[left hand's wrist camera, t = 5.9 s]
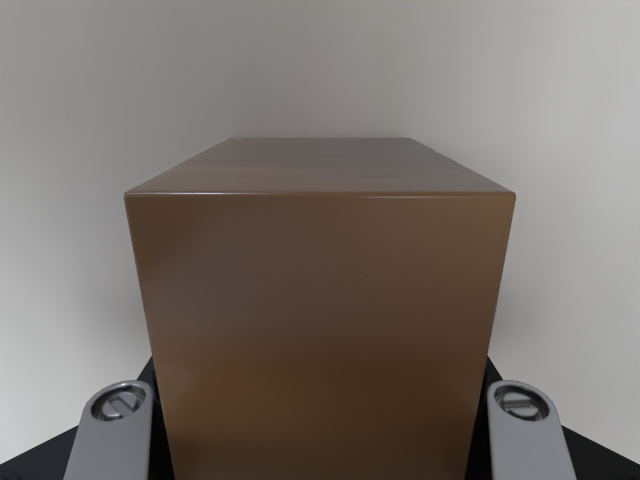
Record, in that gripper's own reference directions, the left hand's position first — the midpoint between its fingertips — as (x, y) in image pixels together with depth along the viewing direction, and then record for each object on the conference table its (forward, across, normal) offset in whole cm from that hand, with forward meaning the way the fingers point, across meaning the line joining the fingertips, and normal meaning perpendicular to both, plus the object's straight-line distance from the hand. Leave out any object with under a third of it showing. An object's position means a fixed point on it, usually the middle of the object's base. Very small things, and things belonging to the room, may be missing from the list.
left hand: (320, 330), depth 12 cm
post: (+2, 0, -24) cm, 24 cm away
